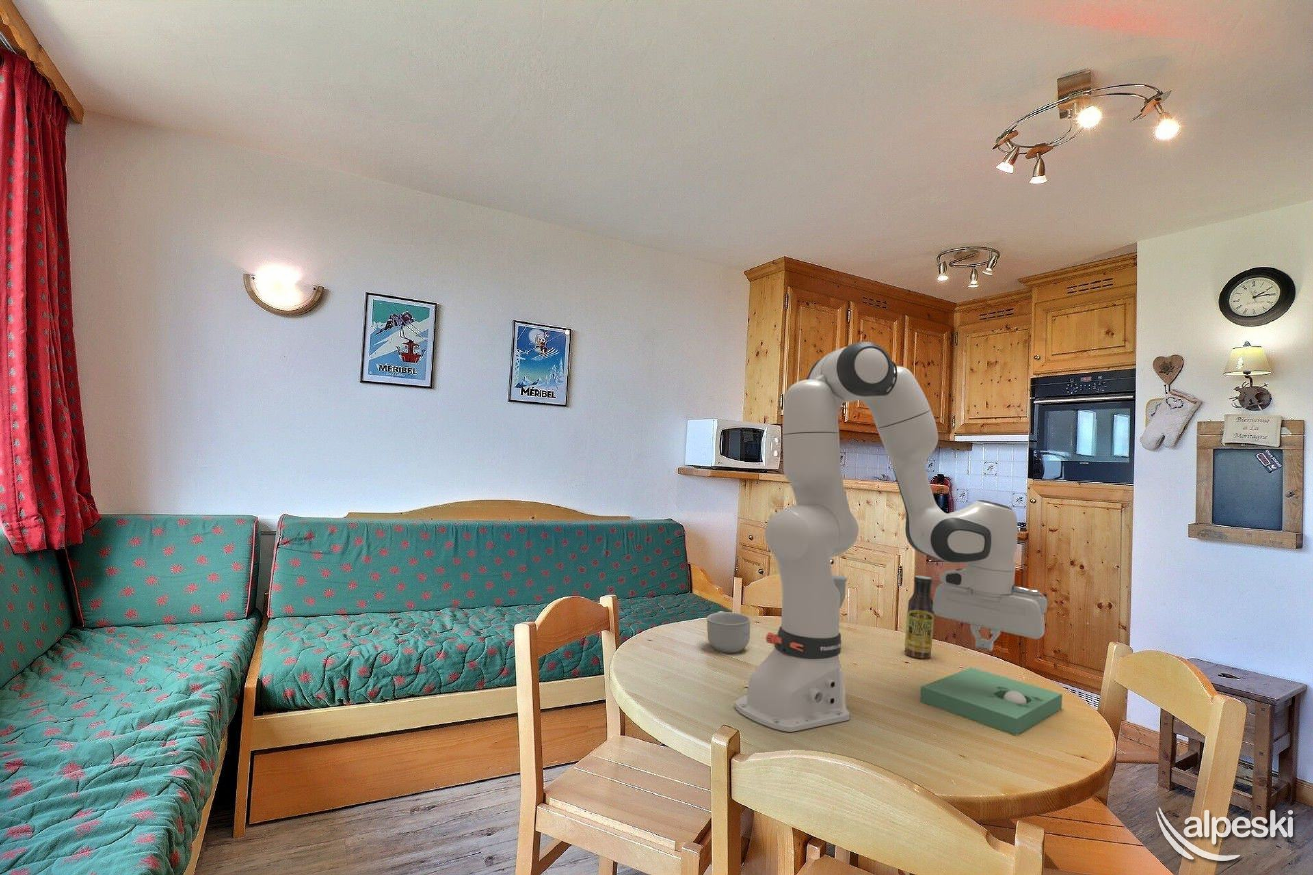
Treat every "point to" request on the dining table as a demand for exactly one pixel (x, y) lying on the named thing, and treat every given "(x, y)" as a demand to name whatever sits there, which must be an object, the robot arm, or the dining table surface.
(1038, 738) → the dining table surface
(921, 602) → the sauce bottle
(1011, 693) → the ball
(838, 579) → the chalice
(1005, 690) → the putting board
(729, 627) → the teacup
